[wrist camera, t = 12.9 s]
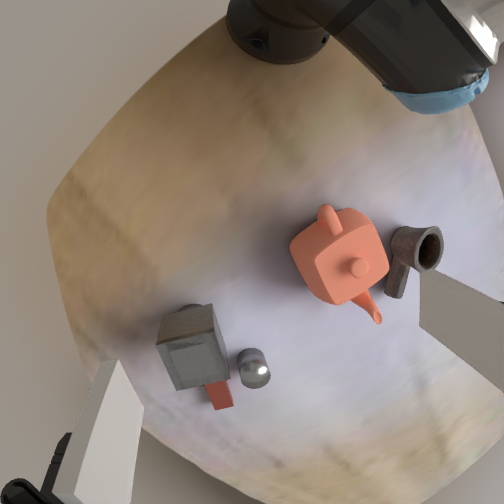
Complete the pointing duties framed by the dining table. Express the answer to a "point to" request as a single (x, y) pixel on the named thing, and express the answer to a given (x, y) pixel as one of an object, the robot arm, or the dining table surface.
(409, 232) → the pipe
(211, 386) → the ratchet
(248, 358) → the socket
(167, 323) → the grey square box
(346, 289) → the teapot
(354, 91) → the dining table surface
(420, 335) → the dining table surface
